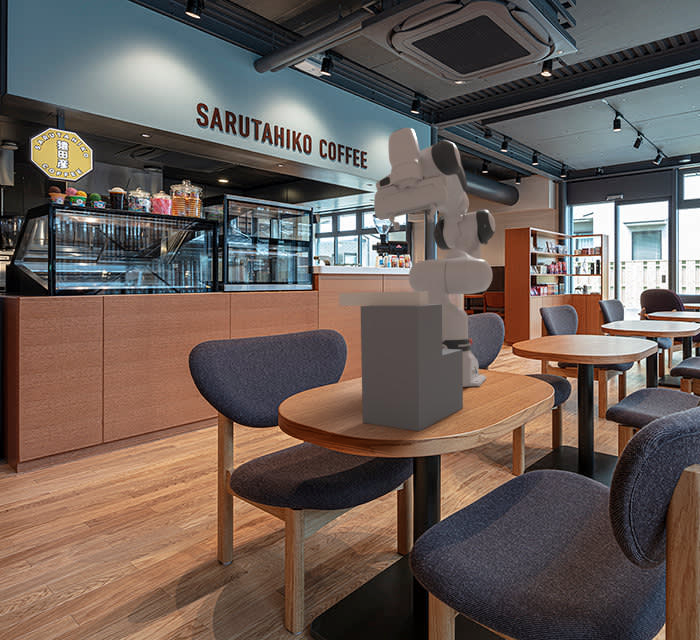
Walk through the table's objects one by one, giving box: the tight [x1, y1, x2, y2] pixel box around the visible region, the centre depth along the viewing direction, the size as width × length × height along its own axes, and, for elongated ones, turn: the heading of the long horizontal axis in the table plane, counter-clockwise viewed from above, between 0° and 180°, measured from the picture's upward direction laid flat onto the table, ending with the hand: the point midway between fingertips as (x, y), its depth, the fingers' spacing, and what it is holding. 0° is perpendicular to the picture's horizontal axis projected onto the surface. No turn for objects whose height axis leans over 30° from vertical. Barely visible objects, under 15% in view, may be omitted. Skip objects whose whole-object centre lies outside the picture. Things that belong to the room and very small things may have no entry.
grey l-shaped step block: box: [359, 304, 464, 432], centre depth 118 cm, size 24×14×26 cm, turn 146°
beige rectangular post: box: [338, 291, 428, 307], centre depth 115 cm, size 4×21×3 cm, turn 56°
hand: (413, 225), depth 137 cm, fingers open, 8 cm apart
